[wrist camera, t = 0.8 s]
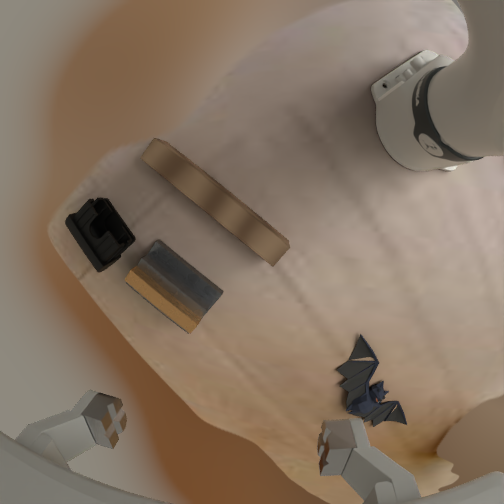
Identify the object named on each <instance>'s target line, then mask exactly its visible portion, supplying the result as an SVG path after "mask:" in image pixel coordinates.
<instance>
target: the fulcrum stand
mask: <svg viewBox="0 0 504 504" xmlns="http://www.w3.org/2000/svg"><path fill="white" fill-rule="evenodd" d="M125 281H126V283H127V284H128V285H129V286H130V287H131V288H132V289H133V290H135V291H136V292H137V293H138V294H139V295H141V296H142V297H143V298H144V299H145V300H147V301H148V302H149V303H150V304H151V305H153V306H154V307H155V308H156V309H157V310H159V311H160V312H161V313H162V314H164V315H165V316H166V317H167V318H169V319H170V320H171V321H173V322H174V323H175V324H176V325H178V326H179V327H180V328H182V329H183V330H184V331H185V332H187V333H188V334H189V333H190V334H191V332H192V331H193V330H194V329H195V328H196V327H197V325H198V324H199V322H200V320H201V319H202V317H203V316H204V315H205V314H206V313H207V312H208V310H209V309H210V308H211V307H212V306H213V305H214V303H215V302H216V301H217V300H218V299H219V297H220V296H221V295H222V293H223V290H221V289H220V288H219V287H218V286H216V285H215V284H214V283H212V282H211V281H210V280H209V279H207V278H206V277H205V276H204V275H202V274H201V273H200V272H199V271H197V270H196V269H195V268H194V267H192V266H191V265H190V264H189V263H188V262H186V261H185V260H184V259H183V258H181V257H180V256H179V255H178V254H177V253H175V252H174V251H173V250H172V249H170V248H169V247H168V246H167V245H166V244H164V243H163V242H162V241H161V240H158V241H156V242H155V244H154V245H153V247H152V248H151V250H150V251H149V253H148V254H147V255H146V256H144V257H143V258H141V260H140V261H139V263H138V265H137V266H136V267H134V268H133V269H131V270H130V272H129V273H128V275H127V276H126V278H125Z"/></svg>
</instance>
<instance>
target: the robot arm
mask: <svg viewBox="0 0 504 504" xmlns="http://www.w3.org/2000/svg"><path fill="white" fill-rule="evenodd" d="M457 1H458V3H459V5H460V7H461V10H462V12H463V14H464V17H465V20H466V23H467V28H468V36H469V40H468V47H467V49H466V51H465V52H464V54H462V55H461V56H460V57H459V58H458V59H456V60H455V61H454V60H453V59H451V58H450V57H448V56H446V55H438V54H436V53H434V52H432V51H430V50H424V51H422V52H420V53H419V54H417V55H416V56H414V57H412V58H411V59H409V60H408V61H406V62H405V63H403V64H402V65H400V66H399V67H397V68H396V69H394V70H393V71H391V72H390V73H388V74H387V75H386V76H384V77H383V78H381V79H380V80H378V81H377V82H375V83H374V84H373V85H372V86H371V92H372V95H373V98H374V101H375V103H376V126H377V131H378V134H379V137H380V140H381V142H382V144H383V146H384V147H385V149H386V150H387V152H388V153H389V154H390V155H391V156H392V158H393V159H395V160H396V161H397V162H398V163H399V164H401V165H402V166H404V167H406V168H408V169H411V170H414V171H430V170H434V169H441V170H444V171H454V170H455V169H456V168H457V166H458V165H462V164H467V163H470V162H472V161H474V160H479V159H481V158H483V157H486V156H504V0H457ZM382 84H384V85H385V86H386V88H384V87H383V86H382ZM122 406H123V404H122V401H121V399H119V398H116V397H113V396H109V395H106V394H103V393H99V392H96V391H92V390H88V391H87V392H86V393H85V394H84V395H83V397H82V398H81V399H80V400H79V402H78V403H77V404H76V405H75V406H74V408H73V409H72V410H71V411H69V410H67V411H65V412H62V413H60V414H57V415H54V416H51V417H49V418H46V419H43V420H40V421H37V422H34V423H32V424H28V425H27V427H26V428H25V429H24V430H23V431H22V432H21V433H20V434H19V436H18V437H17V438H16V439H15V440H14V439H12V438H10V437H9V436H7V435H6V434H4V433H3V432H1V431H0V504H172V503H168V502H164V501H159V500H155V499H151V498H147V497H144V496H141V495H137V494H134V493H130V492H127V491H124V490H121V489H118V488H115V487H112V486H109V485H107V484H104V483H101V482H99V481H96V480H93V479H91V478H88V477H86V476H83V475H81V474H79V473H76V472H74V471H72V470H71V469H70V467H69V466H68V464H67V462H68V461H70V460H72V459H73V458H75V457H77V456H79V455H80V454H82V453H84V452H85V451H87V450H89V449H90V448H92V447H94V446H95V445H96V444H98V445H101V446H104V447H108V448H111V449H114V447H115V445H116V443H117V442H118V440H119V437H118V434H120V433H122V432H123V431H124V429H125V427H126V422H127V418H126V414H125V412H124V411H123V410H122V409H121V407H122ZM321 429H322V432H321V433H320V434H319V437H318V445H317V450H318V455H319V456H320V457H321V458H320V461H319V469H320V476H331V475H341V476H342V477H343V478H344V479H345V480H346V481H347V483H348V484H349V485H350V486H351V487H352V488H353V489H354V490H355V491H356V492H357V493H358V494H359V495H360V496H361V498H362V499H363V500H364V502H363V504H504V473H501V472H492V473H489V474H486V475H484V476H482V477H480V478H477V479H475V480H472V481H470V482H467V483H465V484H462V485H459V486H457V487H454V488H451V489H448V490H445V491H442V492H439V493H436V494H432V495H429V496H426V497H422V498H421V496H420V493H419V490H418V487H417V484H416V481H415V478H414V476H413V475H412V474H411V473H410V472H408V471H407V470H405V469H404V468H403V467H401V466H400V465H398V464H397V463H396V462H394V461H393V460H391V459H390V458H389V457H387V456H386V455H385V454H383V453H382V452H381V451H379V450H378V449H377V448H375V447H374V446H373V447H370V444H369V440H368V437H367V433H366V430H365V427H364V424H363V420H362V419H361V418H355V419H340V420H323V422H322V426H321Z"/></svg>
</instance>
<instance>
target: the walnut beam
mask: <svg viewBox="0 0 504 504" xmlns="http://www.w3.org/2000/svg"><path fill="white" fill-rule="evenodd" d="M140 158H141V159H142V160H143V161H144V162H145V163H147V164H148V165H149V166H150V167H152V168H153V169H154V170H155V171H157V172H158V173H159V174H160V175H161V176H163V177H164V178H165V179H166V180H168V181H169V182H170V183H171V184H172V185H174V186H175V187H176V188H177V189H179V190H180V191H181V192H182V193H183V194H185V195H186V196H187V197H188V198H190V199H191V200H192V201H193V202H194V203H196V204H197V205H198V206H199V207H201V208H202V209H203V210H204V211H205V212H207V213H208V214H209V215H210V216H212V217H213V218H214V219H215V220H216V221H218V222H219V223H220V224H221V225H223V226H224V227H225V228H226V229H227V230H229V231H230V232H231V233H232V234H234V235H235V236H236V237H237V238H238V239H240V240H241V241H242V242H243V243H245V244H246V245H247V246H248V247H249V248H251V249H252V250H253V251H254V252H255V253H257V254H258V255H259V256H260V257H262V258H263V259H264V260H265V261H266V262H268V263H269V264H270V265H271V266H274V265H275V264H276V263H277V262H278V261H279V259H280V258H281V257H282V256H283V255H284V254H285V253H286V251H287V250H288V249H289V248H290V245H289V240H287V239H286V238H285V237H284V236H283V235H281V234H280V233H279V232H278V231H277V230H275V229H274V228H273V227H272V226H271V225H270V224H268V223H267V222H266V221H265V220H263V219H262V218H261V217H260V216H259V215H257V214H256V213H255V212H254V211H253V210H251V209H250V208H249V207H248V206H247V205H245V204H244V203H243V202H242V201H240V200H239V199H238V198H237V197H236V196H234V195H233V194H232V193H231V192H229V191H228V190H227V189H226V188H224V187H223V186H222V185H221V184H219V183H218V182H217V181H216V180H214V179H213V178H212V177H211V176H209V175H208V174H207V173H206V172H204V171H203V170H202V169H201V168H199V167H198V166H197V165H196V164H194V163H193V162H192V161H191V160H189V159H188V158H187V157H185V156H184V155H183V154H182V153H180V152H179V151H178V150H177V149H175V148H174V147H173V146H171V145H170V144H169V143H168V142H166V141H163V140H160V139H157V138H154V139H153V140H152V142H151V143H150V145H149V146H148V147H147V149H146V150H145V152H144V153H143V155H142V156H141V157H140Z"/></svg>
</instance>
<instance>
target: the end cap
mask: <svg viewBox="0 0 504 504" xmlns="http://www.w3.org/2000/svg"><path fill="white" fill-rule="evenodd" d="M65 224H66V226H67V227H68V229H69V231H70V232H71V234H72V235H73V237H74V238H75V240H76V241H77V243H78V244H79V246H80V247H81V249H82V250H83V252H84V253H85V255H86V256H87V258H88V259H89V261H90V262H91V263H92V265H93V266H94V268H95V269H96V270H97V272H102V271H104V270H105V269H107V268H108V267H109V266H111V265H112V264H113V263H115V262H116V261H117V260H118V259H119V258H120V257H121V255H120V254H121V253H123V252H124V251H125V250H126V249H127V248H128V247H129V246H130V245H131V244H132V243H133V242H135V236H134V235H133V234H132V232H131V231H130V229H129V228H128V227H127V225H126V224H125V222H124V221H123V220H122V218H121V217H120V215H119V214H118V212H117V211H116V210H115V208H114V207H113V205H112V204H111V202H110V201H109V199H108V198H97V199H96V200H95V201H94V199H89V200H88V201H87V202H86V203H85V204H84V205H83V206H82V208H81V209H80V210H79V211H78V212H77V213H74V214H69V216H68V217H67V219H66V221H65Z"/></svg>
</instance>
